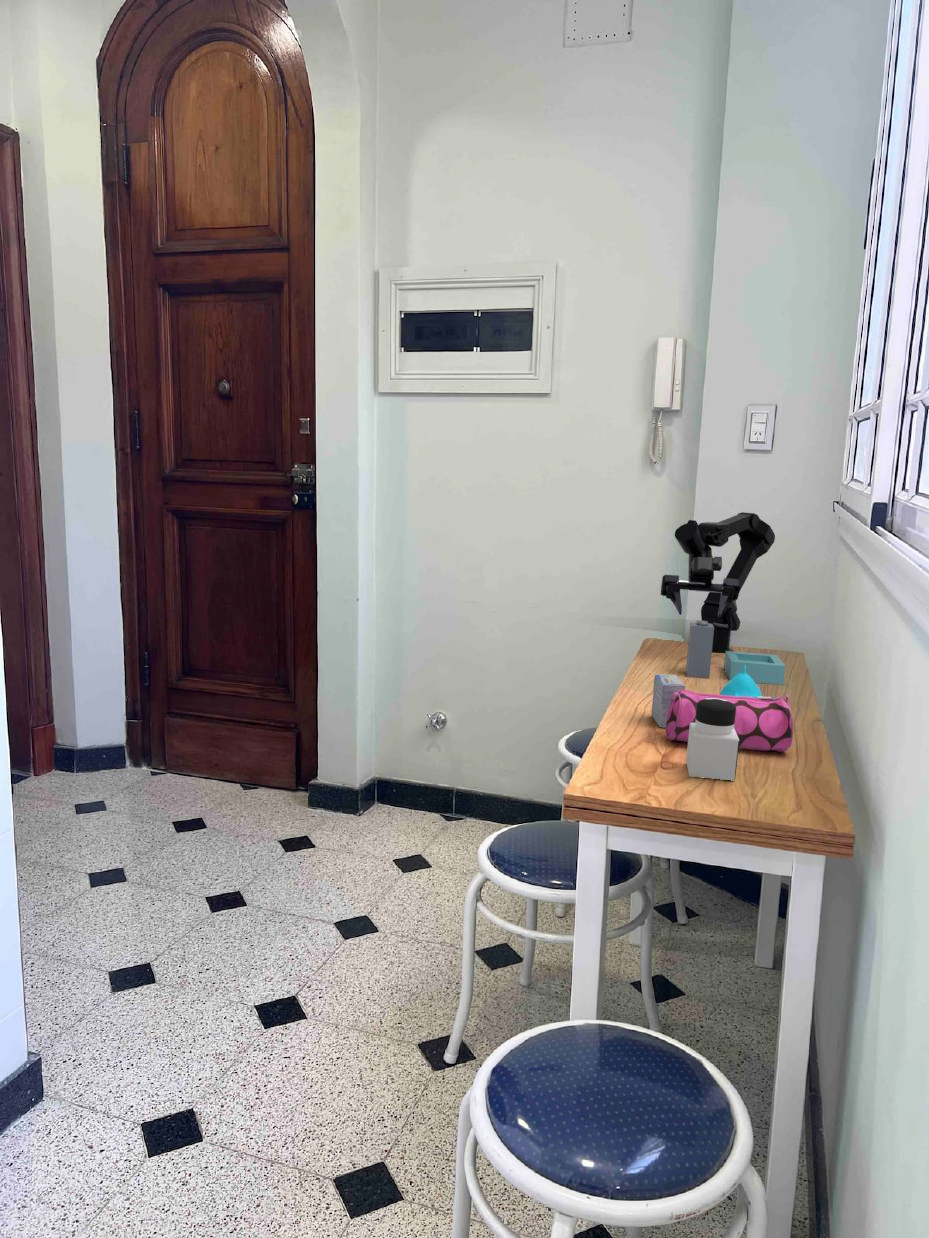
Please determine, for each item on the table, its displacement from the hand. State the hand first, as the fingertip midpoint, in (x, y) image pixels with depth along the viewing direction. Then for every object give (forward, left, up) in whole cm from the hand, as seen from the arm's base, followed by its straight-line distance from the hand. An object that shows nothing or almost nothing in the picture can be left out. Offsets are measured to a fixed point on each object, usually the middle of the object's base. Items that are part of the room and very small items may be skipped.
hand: (699, 615), depth 214 cm
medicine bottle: (+75, -17, -13) cm, 78 cm away
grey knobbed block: (+8, -1, -13) cm, 15 cm away
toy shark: (+42, -2, -13) cm, 44 cm away
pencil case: (+60, -10, -14) cm, 62 cm away
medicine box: (+48, -18, -13) cm, 53 cm away
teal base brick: (+7, +12, -13) cm, 19 cm away
